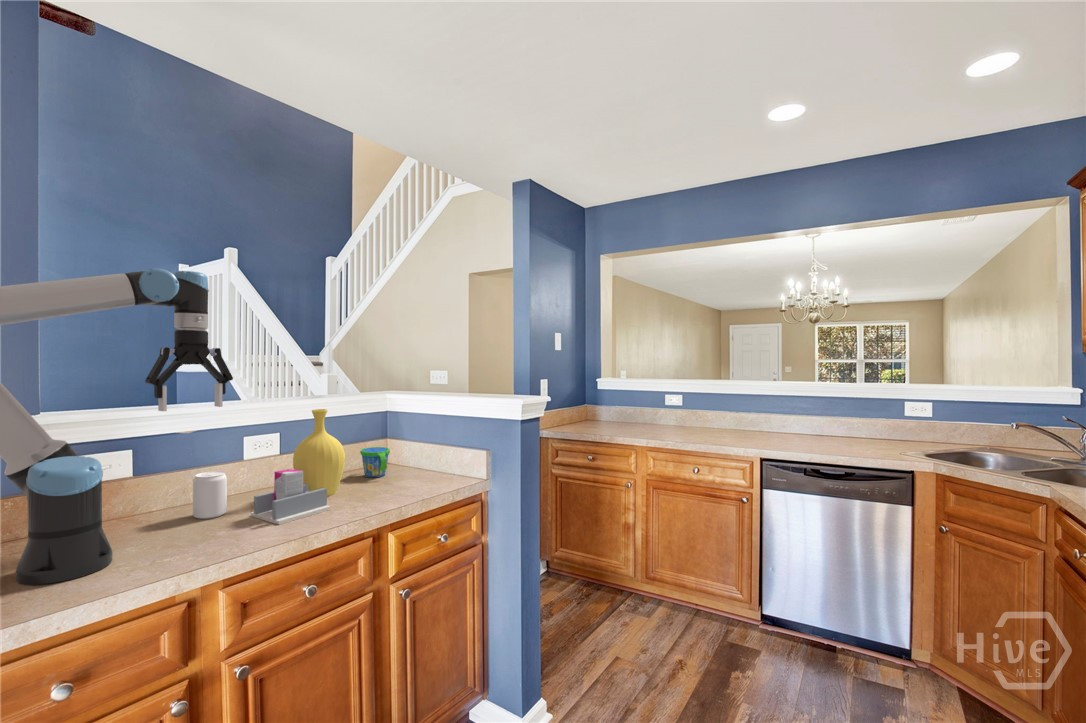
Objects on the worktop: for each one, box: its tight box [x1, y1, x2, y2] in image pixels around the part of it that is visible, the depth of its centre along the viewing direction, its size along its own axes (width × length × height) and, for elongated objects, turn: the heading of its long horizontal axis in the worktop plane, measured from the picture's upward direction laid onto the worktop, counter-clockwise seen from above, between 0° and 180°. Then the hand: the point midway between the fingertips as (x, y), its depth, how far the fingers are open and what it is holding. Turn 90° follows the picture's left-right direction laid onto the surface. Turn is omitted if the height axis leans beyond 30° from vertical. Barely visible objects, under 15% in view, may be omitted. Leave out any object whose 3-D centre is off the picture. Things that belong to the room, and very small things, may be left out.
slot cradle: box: [250, 484, 331, 526], centre depth 149 cm, size 16×14×6 cm
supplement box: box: [273, 468, 303, 501], centre depth 149 cm, size 6×6×12 cm
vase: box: [292, 408, 346, 497], centre depth 169 cm, size 16×16×28 cm
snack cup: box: [359, 446, 391, 479], centre depth 194 cm, size 16×10×10 cm
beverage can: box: [192, 470, 228, 520], centre depth 146 cm, size 8×8×12 cm
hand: (191, 408), depth 137 cm, fingers open, 13 cm apart
